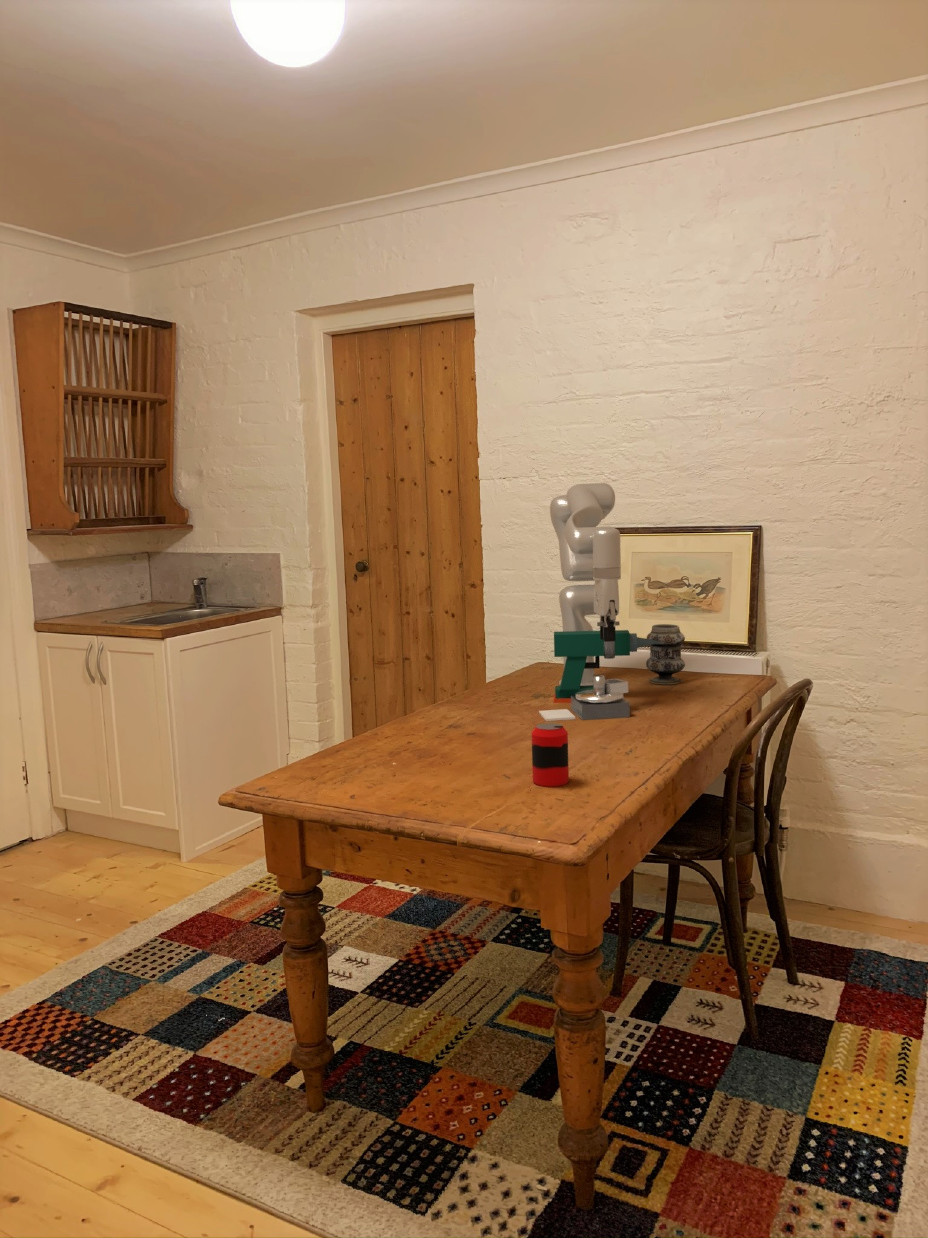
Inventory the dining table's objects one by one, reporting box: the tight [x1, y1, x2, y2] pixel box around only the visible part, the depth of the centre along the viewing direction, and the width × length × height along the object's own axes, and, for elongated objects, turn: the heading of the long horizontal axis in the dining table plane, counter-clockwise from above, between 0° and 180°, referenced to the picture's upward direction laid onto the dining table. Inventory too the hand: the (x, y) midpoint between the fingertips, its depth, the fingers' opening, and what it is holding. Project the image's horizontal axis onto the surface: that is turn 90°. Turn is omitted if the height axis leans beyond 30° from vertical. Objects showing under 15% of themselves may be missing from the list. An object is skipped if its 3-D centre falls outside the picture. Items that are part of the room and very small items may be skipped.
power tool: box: [553, 629, 661, 704], centre depth 278 cm, size 32×7×20 cm, turn 84°
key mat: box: [538, 708, 576, 722], centre depth 261 cm, size 10×8×1 cm
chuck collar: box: [576, 674, 629, 703], centre depth 261 cm, size 13×14×6 cm
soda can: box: [531, 722, 570, 788], centre depth 200 cm, size 8×8×12 cm
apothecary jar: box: [645, 623, 686, 686], centre depth 301 cm, size 12×12×18 cm
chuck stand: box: [570, 695, 630, 721], centre depth 262 cm, size 13×13×4 cm
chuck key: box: [596, 620, 621, 660], centre depth 263 cm, size 3×6×10 cm, turn 85°
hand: (607, 639), depth 263 cm, fingers closed on chuck key, 3 cm apart
